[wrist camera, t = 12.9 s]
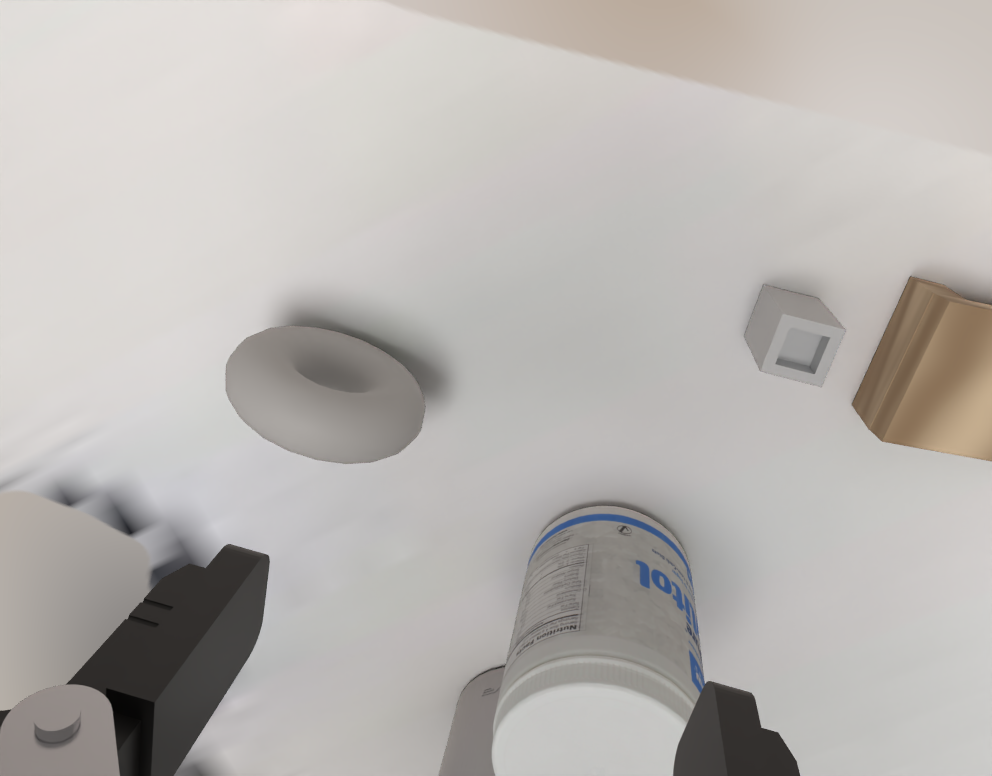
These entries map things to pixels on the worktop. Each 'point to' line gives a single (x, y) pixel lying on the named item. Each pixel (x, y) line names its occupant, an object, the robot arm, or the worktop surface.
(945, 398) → the ramp
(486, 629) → the worktop surface
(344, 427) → the donut
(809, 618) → the worktop surface
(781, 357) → the hollow grey box
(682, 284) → the worktop surface
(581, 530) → the supplement tub
